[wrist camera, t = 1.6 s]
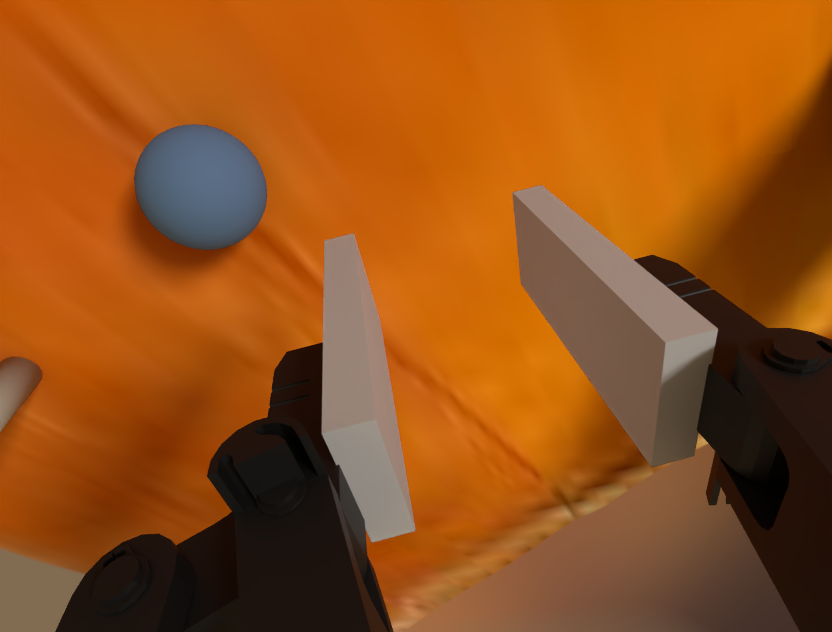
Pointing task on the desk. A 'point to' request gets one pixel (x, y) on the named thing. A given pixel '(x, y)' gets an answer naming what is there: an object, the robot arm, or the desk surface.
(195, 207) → the ball
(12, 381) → the sage pin
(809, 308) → the desk surface
